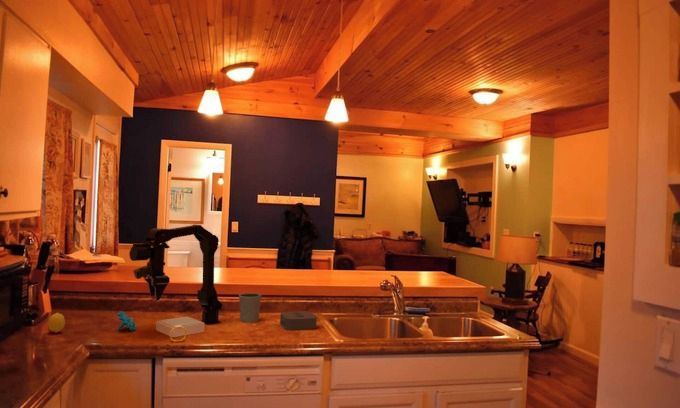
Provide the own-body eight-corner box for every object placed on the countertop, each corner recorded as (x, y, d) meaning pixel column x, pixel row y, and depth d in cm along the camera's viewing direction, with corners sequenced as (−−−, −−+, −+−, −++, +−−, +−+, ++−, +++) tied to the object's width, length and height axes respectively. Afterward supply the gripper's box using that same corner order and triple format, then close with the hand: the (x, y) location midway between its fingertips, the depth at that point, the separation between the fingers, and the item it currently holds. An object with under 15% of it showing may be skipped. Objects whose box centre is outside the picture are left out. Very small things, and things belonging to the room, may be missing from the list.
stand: (187, 325, 209) (187, 316, 209) (204, 331, 199) (204, 322, 199) (156, 330, 199) (156, 320, 199) (172, 337, 189) (173, 327, 189)
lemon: (67, 332, 189) (68, 312, 189) (53, 335, 184) (55, 314, 184) (58, 330, 191) (59, 310, 191) (44, 333, 186) (45, 312, 186)
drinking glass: (264, 320, 224) (265, 294, 225) (249, 324, 216) (250, 297, 216) (248, 317, 230) (249, 292, 230) (233, 320, 221) (234, 294, 222)
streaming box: (318, 329, 213) (318, 318, 213) (286, 331, 208) (286, 319, 208) (308, 322, 226) (309, 311, 226) (278, 323, 221) (279, 312, 221)
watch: (170, 343, 182) (169, 327, 182) (169, 341, 184) (169, 326, 184) (186, 341, 184) (186, 325, 184) (185, 339, 187) (185, 324, 187)
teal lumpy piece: (132, 329, 191) (116, 311, 192) (120, 340, 190) (104, 321, 191) (142, 327, 202) (126, 309, 203) (130, 336, 201) (115, 319, 202)
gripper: (130, 257, 197) (128, 295, 197) (140, 262, 182) (138, 303, 182) (158, 257, 204) (156, 293, 204) (170, 262, 188) (168, 301, 188)
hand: (154, 298), depth 194 cm, fingers open, 9 cm apart
